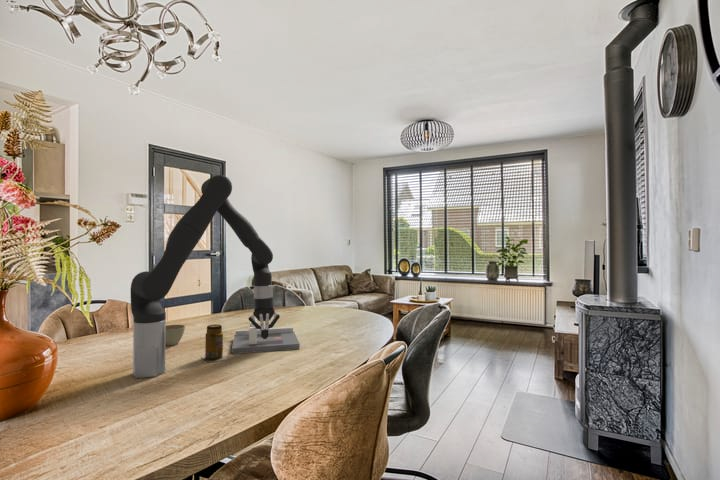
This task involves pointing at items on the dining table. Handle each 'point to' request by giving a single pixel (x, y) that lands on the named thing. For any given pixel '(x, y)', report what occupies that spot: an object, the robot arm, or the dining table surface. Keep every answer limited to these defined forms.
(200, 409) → the dining table surface
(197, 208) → the robot arm
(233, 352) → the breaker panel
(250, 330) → the block
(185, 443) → the dining table surface
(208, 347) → the condiment
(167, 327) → the flower pot
